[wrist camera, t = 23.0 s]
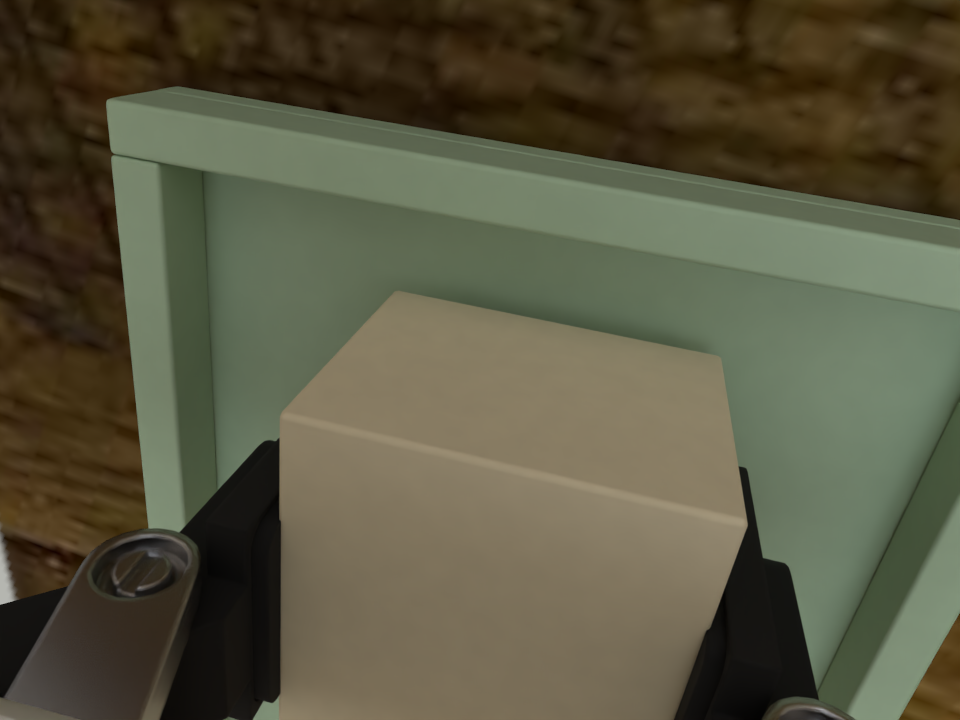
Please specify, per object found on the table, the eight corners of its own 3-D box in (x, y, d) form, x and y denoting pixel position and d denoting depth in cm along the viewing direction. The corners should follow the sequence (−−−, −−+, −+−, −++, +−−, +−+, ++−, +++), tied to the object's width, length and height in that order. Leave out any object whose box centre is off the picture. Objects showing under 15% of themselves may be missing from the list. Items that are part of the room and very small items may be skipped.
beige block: (394, 288, 12) (277, 413, 8) (722, 354, 11) (751, 523, 7) (372, 579, 14) (276, 768, 11) (633, 647, 14) (622, 873, 10)
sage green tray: (175, 84, 12) (103, 98, 11) (1077, 239, 10) (1151, 282, 9) (215, 756, 20) (177, 821, 18) (732, 914, 18) (739, 1002, 16)
